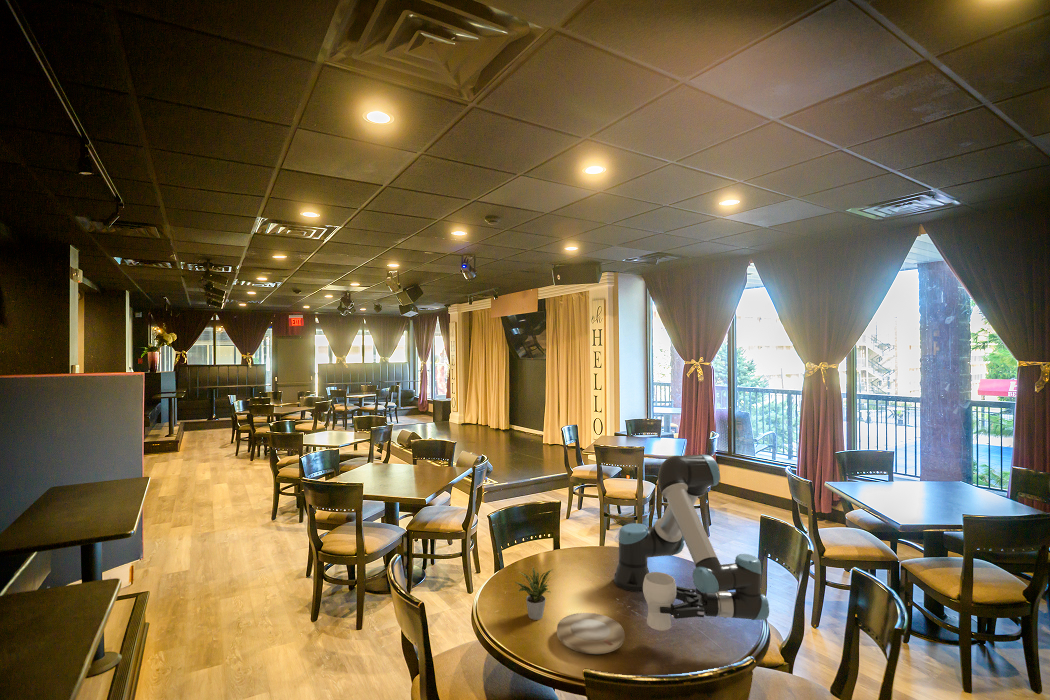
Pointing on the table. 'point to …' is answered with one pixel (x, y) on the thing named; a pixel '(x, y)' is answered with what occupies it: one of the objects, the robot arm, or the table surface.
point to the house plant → (535, 594)
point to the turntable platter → (590, 633)
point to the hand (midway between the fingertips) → (646, 598)
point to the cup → (659, 597)
